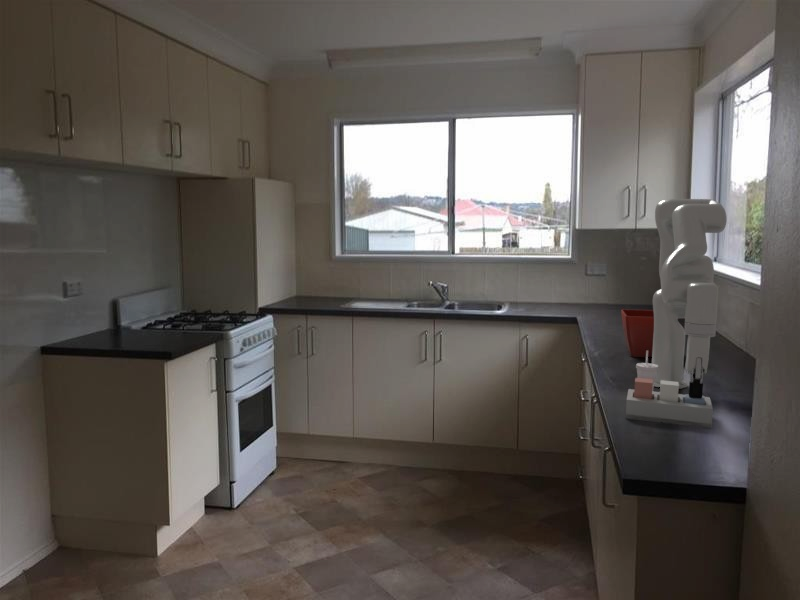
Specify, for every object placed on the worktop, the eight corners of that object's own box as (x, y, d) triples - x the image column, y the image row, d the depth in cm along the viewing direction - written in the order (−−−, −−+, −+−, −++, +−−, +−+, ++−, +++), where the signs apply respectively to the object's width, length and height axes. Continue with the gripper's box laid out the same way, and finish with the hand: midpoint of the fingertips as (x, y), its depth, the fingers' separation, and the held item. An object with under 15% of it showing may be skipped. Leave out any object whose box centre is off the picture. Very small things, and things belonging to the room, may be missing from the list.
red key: (634, 393, 180) (635, 377, 180) (651, 395, 178) (652, 379, 178) (633, 397, 176) (634, 381, 175) (651, 399, 174) (652, 383, 174)
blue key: (684, 410, 176) (685, 393, 175) (702, 412, 174) (703, 395, 174) (685, 414, 172) (686, 398, 171) (703, 416, 170) (704, 400, 169)
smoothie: (651, 393, 199) (654, 349, 198) (660, 399, 193) (663, 353, 191) (630, 393, 199) (633, 348, 197) (639, 399, 193) (641, 353, 191)
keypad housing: (627, 406, 185) (628, 388, 184) (708, 415, 177) (709, 397, 176) (625, 418, 174) (626, 399, 173) (711, 428, 166) (712, 408, 165)
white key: (659, 396, 178) (660, 380, 177) (677, 397, 176) (678, 381, 176) (659, 400, 174) (660, 383, 173) (677, 402, 172) (678, 385, 171)
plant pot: (623, 358, 250) (625, 315, 248) (618, 348, 269) (621, 308, 267) (676, 361, 246) (678, 317, 244) (667, 351, 264) (670, 310, 262)
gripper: (683, 324, 178) (679, 389, 180) (685, 332, 164) (680, 402, 167) (713, 326, 175) (708, 392, 178) (718, 334, 162) (712, 406, 164)
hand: (695, 397), depth 172 cm, fingers closed
